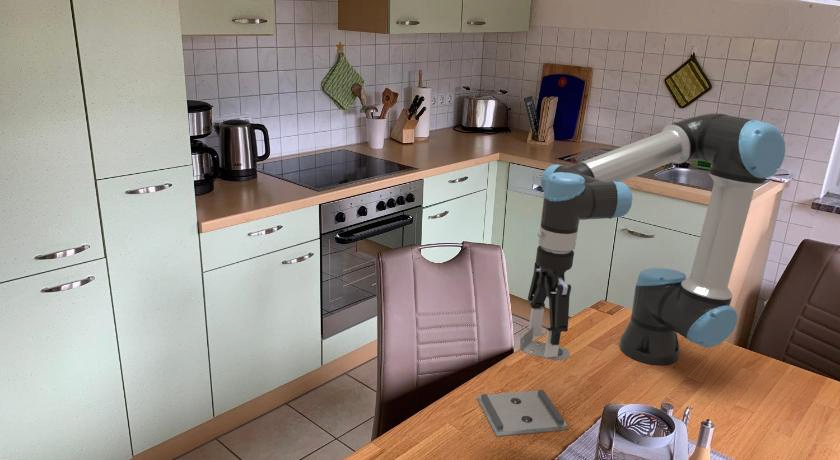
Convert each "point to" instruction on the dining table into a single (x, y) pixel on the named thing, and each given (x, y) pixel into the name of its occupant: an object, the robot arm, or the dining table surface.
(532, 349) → the bracket
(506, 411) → the mount plate
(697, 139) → the robot arm
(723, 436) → the dining table surface
